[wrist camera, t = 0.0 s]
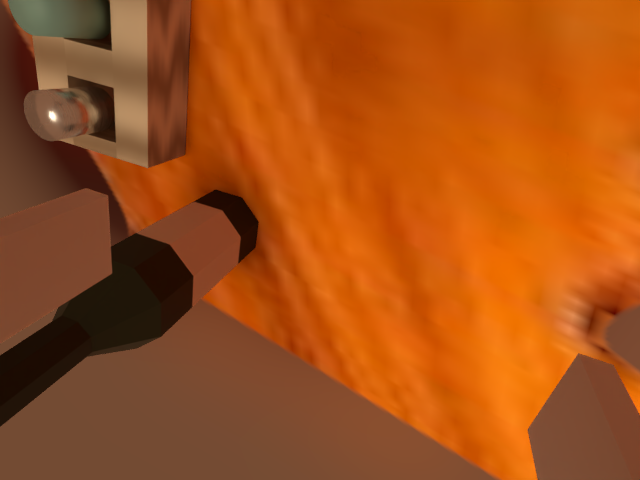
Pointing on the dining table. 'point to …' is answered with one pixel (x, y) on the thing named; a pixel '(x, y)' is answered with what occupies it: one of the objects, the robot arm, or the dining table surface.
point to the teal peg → (63, 17)
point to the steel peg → (69, 112)
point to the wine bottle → (133, 294)
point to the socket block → (129, 78)
